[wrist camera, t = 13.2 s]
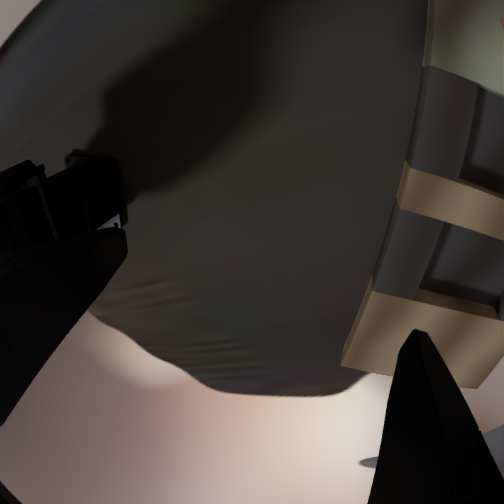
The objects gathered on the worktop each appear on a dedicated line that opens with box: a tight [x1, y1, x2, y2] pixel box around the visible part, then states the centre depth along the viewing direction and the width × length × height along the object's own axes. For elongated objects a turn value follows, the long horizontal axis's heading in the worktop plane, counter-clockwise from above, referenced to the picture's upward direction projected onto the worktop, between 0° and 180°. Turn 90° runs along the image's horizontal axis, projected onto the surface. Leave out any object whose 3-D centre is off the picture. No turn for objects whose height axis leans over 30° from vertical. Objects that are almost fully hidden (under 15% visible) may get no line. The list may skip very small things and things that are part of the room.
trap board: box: [341, 0, 504, 389], centre depth 15 cm, size 14×30×2 cm, turn 175°
